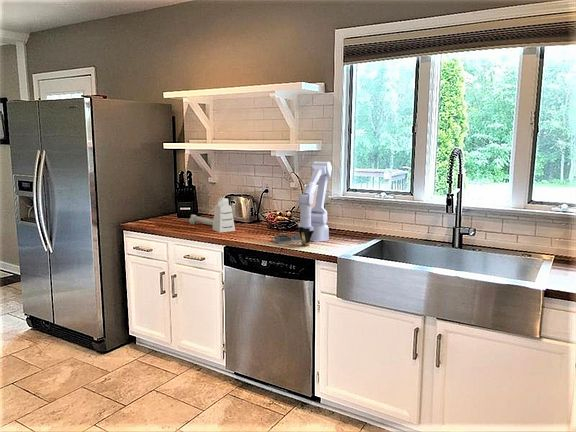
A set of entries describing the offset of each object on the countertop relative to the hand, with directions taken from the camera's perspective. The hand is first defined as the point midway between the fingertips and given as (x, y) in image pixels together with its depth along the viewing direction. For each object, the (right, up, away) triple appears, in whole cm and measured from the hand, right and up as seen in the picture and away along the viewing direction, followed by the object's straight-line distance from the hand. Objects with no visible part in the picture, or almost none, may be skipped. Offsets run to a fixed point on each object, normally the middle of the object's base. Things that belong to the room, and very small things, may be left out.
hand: (305, 241), depth 255 cm
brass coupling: (0, -2, 0) cm, 2 cm away
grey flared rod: (-65, +7, +62) cm, 90 cm away
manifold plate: (-8, 0, +12) cm, 14 cm away
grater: (-49, +5, +43) cm, 66 cm away
